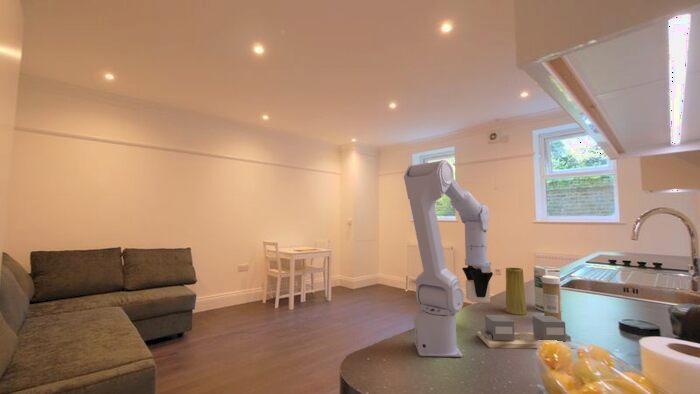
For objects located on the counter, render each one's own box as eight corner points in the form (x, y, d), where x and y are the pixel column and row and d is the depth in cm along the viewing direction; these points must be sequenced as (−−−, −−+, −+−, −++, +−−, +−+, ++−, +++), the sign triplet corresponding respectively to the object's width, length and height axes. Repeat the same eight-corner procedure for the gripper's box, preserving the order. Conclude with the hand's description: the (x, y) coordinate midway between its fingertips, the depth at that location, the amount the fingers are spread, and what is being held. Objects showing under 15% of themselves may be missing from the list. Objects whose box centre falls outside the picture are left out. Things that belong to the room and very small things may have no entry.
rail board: (489, 347, 74) (488, 323, 74) (477, 335, 82) (477, 313, 82) (577, 349, 73) (575, 324, 73) (556, 336, 81) (555, 314, 81)
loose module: (471, 302, 85) (470, 282, 85) (466, 298, 89) (465, 279, 90) (490, 302, 85) (489, 282, 85) (483, 298, 89) (483, 279, 90)
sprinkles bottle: (565, 323, 92) (562, 276, 93) (557, 326, 89) (555, 278, 90) (548, 319, 95) (545, 274, 96) (540, 321, 93) (538, 276, 94)
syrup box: (534, 308, 107) (532, 265, 109) (550, 307, 108) (547, 265, 109) (546, 313, 102) (544, 268, 103) (563, 312, 102) (560, 267, 104)
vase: (522, 310, 105) (520, 267, 106) (530, 315, 99) (527, 270, 100) (503, 309, 106) (501, 267, 107) (509, 314, 100) (507, 269, 101)
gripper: (501, 248, 81) (503, 301, 80) (480, 244, 95) (482, 289, 94) (473, 248, 81) (475, 301, 80) (457, 244, 96) (458, 289, 95)
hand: (477, 294), depth 87 cm, fingers closed on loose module, 4 cm apart
